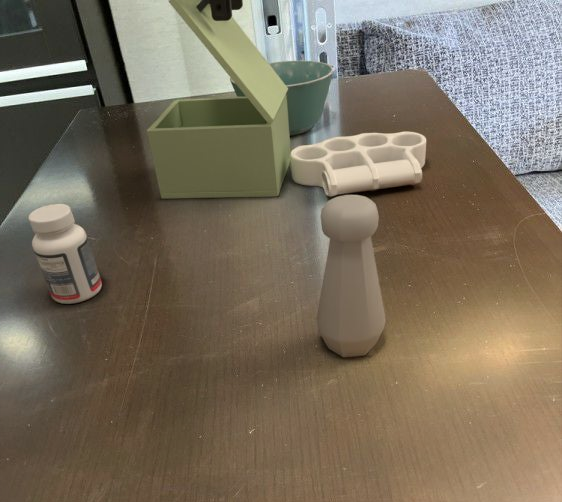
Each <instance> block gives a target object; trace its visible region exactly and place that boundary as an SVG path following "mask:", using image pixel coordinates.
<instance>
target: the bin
mask: <svg viewBox="0 0 562 502" xmlns="http://www.w3.org/2000/svg"><path fill="white" fill-rule="evenodd" d="M146 135H147V140H148V144H149V149H150V154H151V159H152V163H153V167H154V172H155V176H156V182H157V186H158V190H159V193H160V199H161V200H163V199H164V200H165V199H213V198H215V199H216V198H217V199H218V198H221V199H222V198H265V197H272V198H273V197H279V194H280V192H281V189H282V187H283V184H284V180H285V178H286V175H287V172H288V170H289V167H290V165H291V159H290V154H291V152H292V150H291V149H292V148H291V138H290V135H289V122H288V109H287V95H285V97H284V99H283V101H282V103H281V105H280V107H279V109H278V111H277V113H276V115H275V117H274V120H273V121H272V122H270V123H269V124H268V123H267V121H266V120H265V119H264V118H263V116H262V115H261V114H260V113H259V112H258V110H257V109H256V108H255V107H254V105H253V104H252V103H251V102H250V101H249V99H248V98H247V97H246V96H243V97H237V96H226V97H225V96H224V97H222V96H221V97H202V98H201V97H200V98H182V99H181V98H180V99H174V100H173V101H172V102H171V103H170V105H168V107H167V108H166V109H165V110H164V111H163V112H162V113H161V114H160V115H159V117H158V118H157V119H156V120H155V121H154V122H153V123H152V124H151V125H150V126H149V128H148V129H147V130H146Z"/></svg>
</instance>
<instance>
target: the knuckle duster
mask: <svg viewBox="0 0 562 502" xmlns="http://www.w3.org/2000/svg"><path fill="white" fill-rule="evenodd" d="M426 152H427V138H426V136H425V135H423V134H421V133H418V132H415V131H400V132H393V133H384V132H383V133H381V132H362V133H360V134H359V133H358V134H356V135H350V136H349V135H348V136H335V137H332V138H331V137H330V138H327V139H325V140H323V141H320V142H317V143H313V144H306V145H305V144H304V145H303V144H302V145H299V146H297V147H295V148H293V149H292V150H291V154H290V159H291V161H290V171H291V172H290V173H291V179H292V181H293V182H294V183H295V184H298V185H301V186H305V187H307V186H309V187H320V188H322V189H323V191H324V193H325V195H326V196H327V197H330V198H334V197H336V196H337V195H347V194H353V193H361V192H367V191H368V192H369V191H370V192H374V191H377V190H381V189H389V188H390V189H391V188H396V187H402V186H403V187H404V186H417V185H418V184H421V183H422V182H423V170H422V169H423V168H424V166H425V164H426V154H427V153H426Z"/></svg>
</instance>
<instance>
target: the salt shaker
mask: <svg viewBox="0 0 562 502" xmlns="http://www.w3.org/2000/svg"><path fill="white" fill-rule="evenodd" d="M320 210H321V211H320V225H321V231H322V233H323V235H324V236H325V237H327V238H329V242H328V243H329V244H328V249H327V250H328V251H327V255H326V262H325V267H324V274H323V280H322V285H321V291H320V296H319V302H318V307H317V308H318V309H317V313H316V314H317V315H316V326H317V330H318V333H319V335H320V337H321V338H322V340H323V341H324V343H325V345H326V347H327V348H328V349H329V350H330V351H332V352H334V353H335V354H337V355H338V356H341V357H342V358H352V357H363V356H366V355H367V354H368V353H369V352H370V351H371V350H372V349H373V348H374V347H375V346H376V345H377V343H378V341H379V339H380V337H381V336H382V333H383V331H384V329H385V327H386V323H387V318H386V313H385V307H384V303H383V297H382V291H381V286H380V280H379V275H378V269H377V263H376V258H375V257H376V256H375V252H374V247H373V241H372V236H373V235H374V234H375V233H376V232H377V230H378V227H379V218H380V217H379V211H378V207H377V205H376V202H374V201H373V200H372V199H370V198H368V197H367V196H364V195H359V194H343V195H339V196H334V197H332V198H331V199H329V200H328V201H327V202H326V203H325V204H324V206H323V207H321V209H320Z"/></svg>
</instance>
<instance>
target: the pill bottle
mask: <svg viewBox="0 0 562 502" xmlns="http://www.w3.org/2000/svg"><path fill="white" fill-rule="evenodd" d="M28 221H29V224H30V227H31V229H32V231H33V232H34V234H35V235H34V236H33V238H32V241H31V246H32V250H33V252H34V254H35V257H36V260H37V263H38V265H39V268H40V271H41V273H42V276H43V278H44V281H45V283H46V286H47V288H48V291H49V294H50V296H51V298H52V299H53V300H54V301H55V302H57V303H60V304H63V305H73V304H79V303H82V302H84V301H85V302H86V301H88V300H89V299H91V298H93V297H95V296H96V295H97V294H98V293H99V292H100V291H101V289H102V286H103V283H102V279H101V275H100V272H99V270H98V266H97V264H96V260H95V257H94V253H93V251H92V248H91V245H90V241H89V238H88V236H87V232H86V231H85V230H84V228H83V227H81V225H79V224H76V223H75V222H76V220H75V218H74V215H73V212H72V209H71V207H70V206H69V205H67V204H63V203H53V204H47V205H43V206H40V207H38V208H36V209H35V210H33V211H31V212H30V214H29V215H28Z"/></svg>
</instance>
